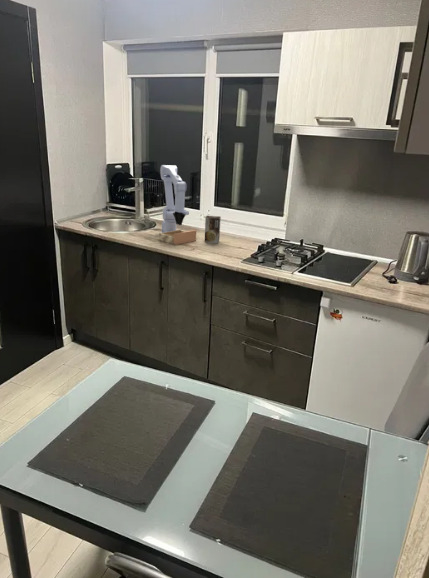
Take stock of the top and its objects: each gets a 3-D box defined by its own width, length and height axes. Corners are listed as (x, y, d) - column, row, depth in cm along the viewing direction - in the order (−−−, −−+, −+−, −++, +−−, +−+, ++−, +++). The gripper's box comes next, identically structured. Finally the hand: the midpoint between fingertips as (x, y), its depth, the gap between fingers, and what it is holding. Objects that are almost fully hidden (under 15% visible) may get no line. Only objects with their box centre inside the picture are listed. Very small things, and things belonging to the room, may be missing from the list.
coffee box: (219, 241, 272) (221, 216, 266) (218, 244, 266) (220, 218, 260) (205, 240, 272) (206, 215, 267) (204, 242, 266) (205, 217, 261)
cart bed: (158, 240, 265) (159, 233, 263) (180, 236, 278) (180, 229, 276) (172, 245, 257) (173, 237, 255) (194, 240, 269) (194, 233, 268)
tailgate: (173, 244, 257) (173, 233, 254) (194, 240, 269) (195, 230, 267) (174, 244, 256) (174, 234, 254) (195, 240, 268) (196, 230, 266)
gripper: (166, 201, 259) (166, 223, 264) (183, 204, 250) (182, 227, 255) (175, 200, 264) (174, 221, 269) (191, 203, 255) (190, 226, 260)
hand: (179, 224), depth 263 cm, fingers closed
